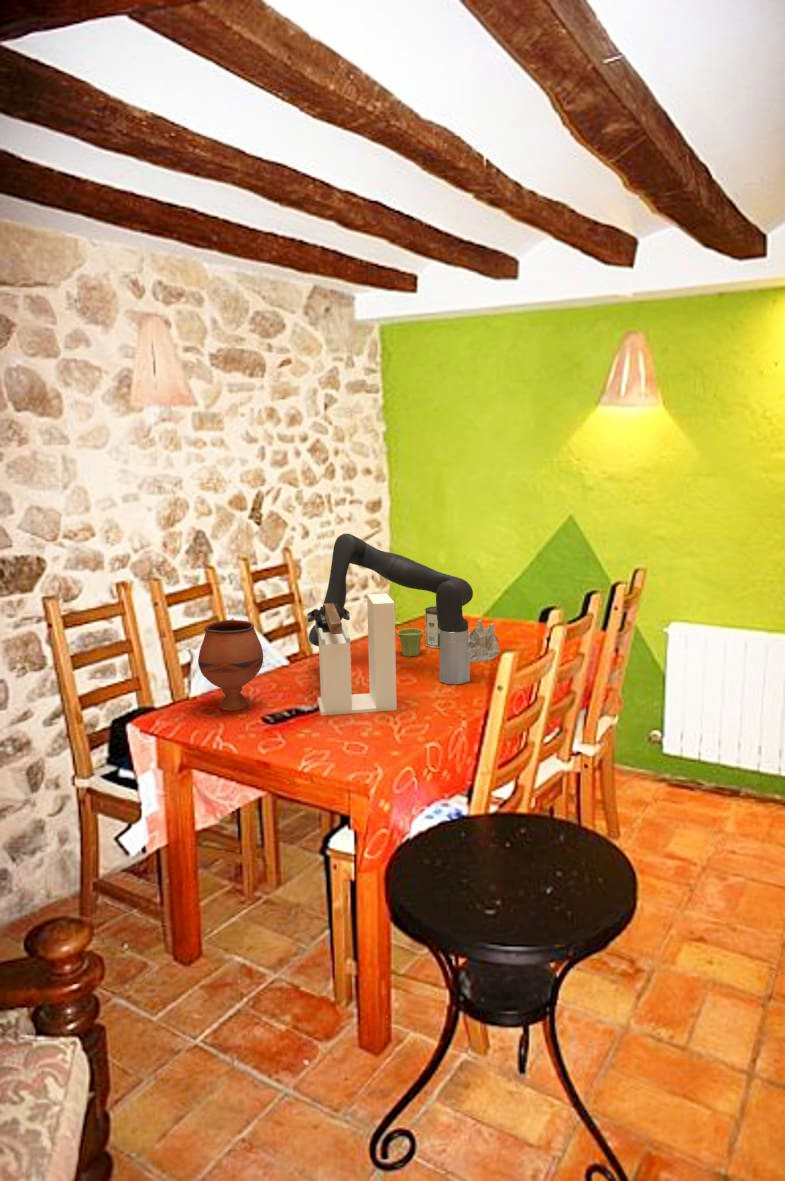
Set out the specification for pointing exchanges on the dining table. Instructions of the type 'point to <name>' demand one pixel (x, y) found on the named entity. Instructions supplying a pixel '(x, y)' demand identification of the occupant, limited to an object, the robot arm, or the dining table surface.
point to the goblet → (230, 659)
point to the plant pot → (410, 641)
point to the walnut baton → (333, 619)
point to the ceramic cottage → (482, 643)
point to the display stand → (381, 664)
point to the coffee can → (432, 628)
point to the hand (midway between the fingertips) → (330, 607)
